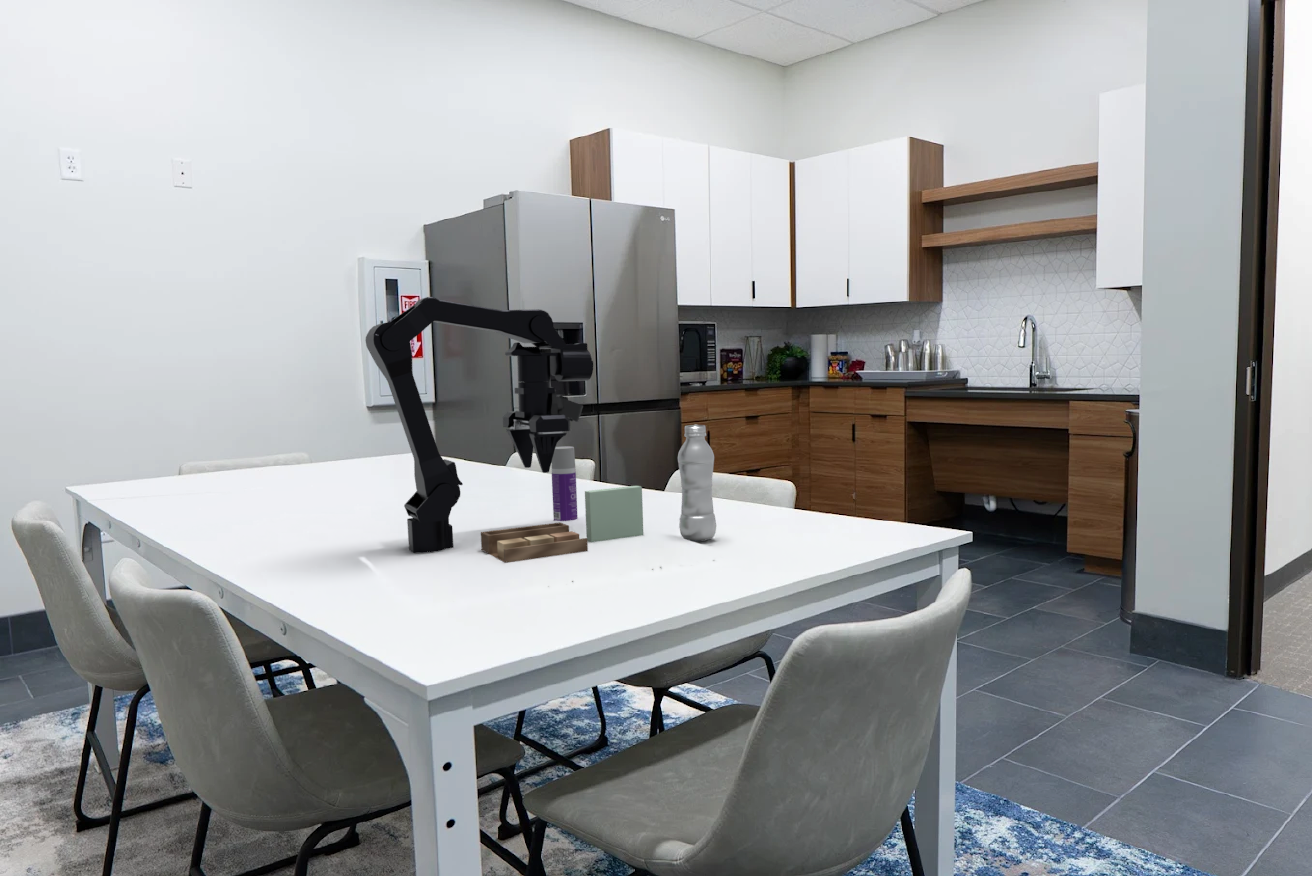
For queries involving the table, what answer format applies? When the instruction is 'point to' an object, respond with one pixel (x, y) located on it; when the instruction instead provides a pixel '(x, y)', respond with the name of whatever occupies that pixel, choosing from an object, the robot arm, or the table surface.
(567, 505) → the container
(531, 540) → the offcut
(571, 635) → the table surface
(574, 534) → the offcut
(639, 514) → the green rectangular block
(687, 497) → the plastic bottle
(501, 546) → the offcut
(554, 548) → the rack
